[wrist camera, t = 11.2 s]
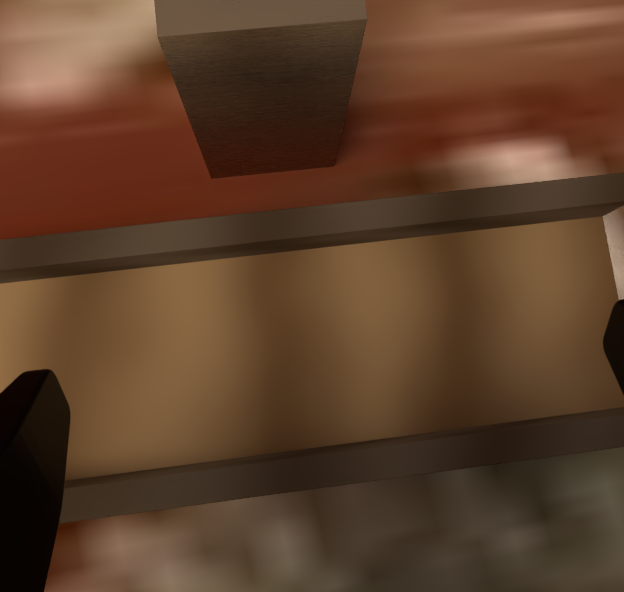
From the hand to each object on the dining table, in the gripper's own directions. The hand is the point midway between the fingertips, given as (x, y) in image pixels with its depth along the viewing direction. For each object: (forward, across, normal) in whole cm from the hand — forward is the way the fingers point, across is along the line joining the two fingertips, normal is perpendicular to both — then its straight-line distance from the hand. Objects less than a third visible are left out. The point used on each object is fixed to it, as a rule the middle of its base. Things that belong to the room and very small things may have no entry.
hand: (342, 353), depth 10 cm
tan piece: (+10, 0, +9) cm, 14 cm away
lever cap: (+16, 0, +3) cm, 17 cm away
